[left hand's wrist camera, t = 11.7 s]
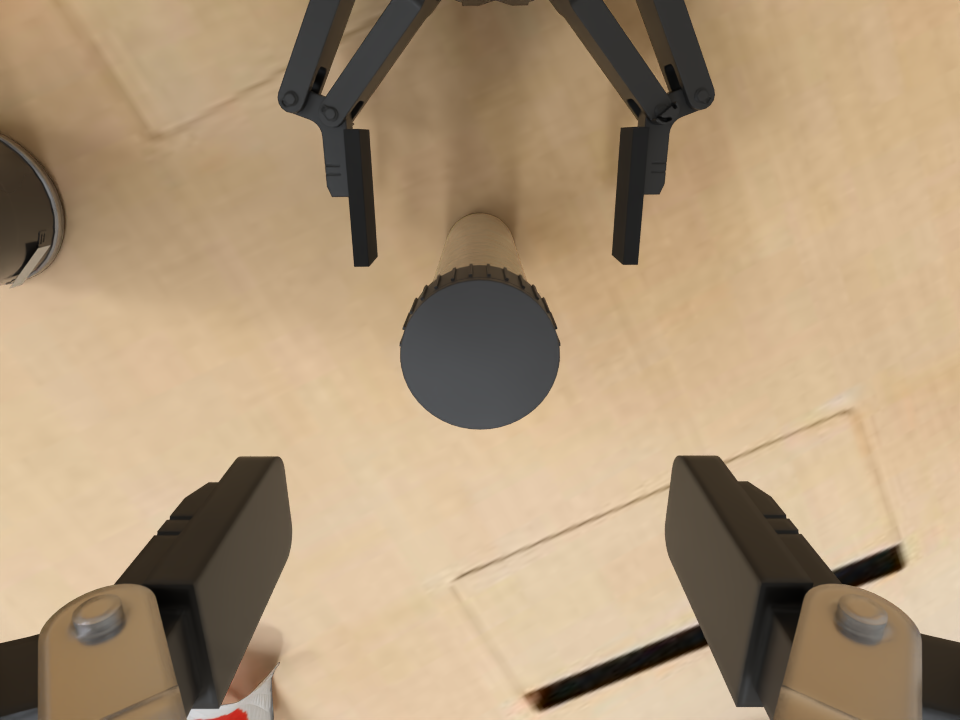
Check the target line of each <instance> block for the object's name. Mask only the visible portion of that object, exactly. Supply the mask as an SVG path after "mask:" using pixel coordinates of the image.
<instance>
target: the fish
mask: <svg viewBox="0 0 960 720" xmlns="http://www.w3.org/2000/svg"><path fill="white" fill-rule="evenodd" d="M279 664H280V662H279V663H277V665H276V666H275V668H274V669H273V670H272V671H271V673H270V674H269V675H268V676H267V677H266V678H265V679H264V680H263V681H262V682H261V683H260V684H259V685H258V686H257V688H256V689H255V690H254V691H253V692H252V693H251V694H250V695H248V696H247V697H245V698H244V699H242V700H240V701H239V702H236V703H232V704H226V705H221V706H220V708H219V709H191V711H190V713H189V715H188V717H187V720H274V715H273V700H272V676H273V673H274V671H275V669H276V668H277V666H278V665H279Z"/></svg>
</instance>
